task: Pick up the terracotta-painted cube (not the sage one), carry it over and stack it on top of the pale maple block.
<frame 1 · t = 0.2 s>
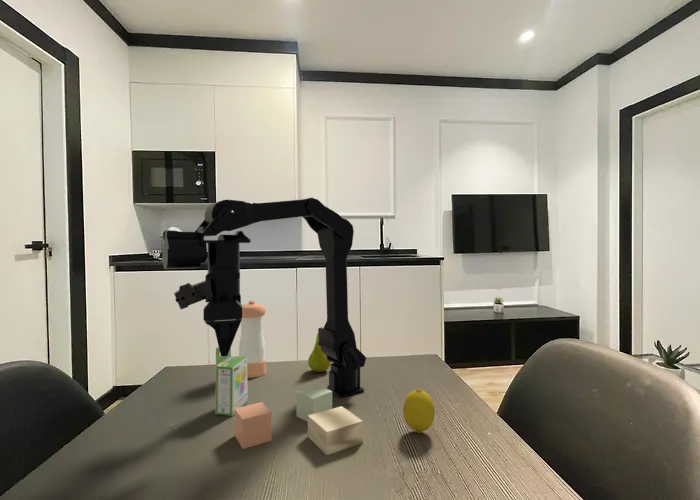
hand: (224, 349, 71), 14 cm above the table, fingers open, 9 cm apart
maple base: (334, 441, 65), on the table
pepper shaker: (252, 373, 99), on the table
terracotta cube: (252, 438, 66), on the table
lemon: (418, 434, 67), on the table
ink box: (232, 409, 78), on the table
sage cube: (314, 416, 74), on the table
fruit: (319, 371, 101), on the table
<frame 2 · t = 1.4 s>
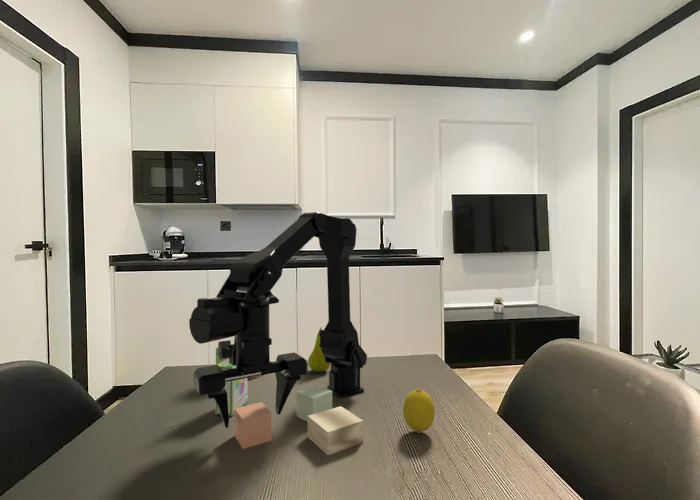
hand: (253, 420, 66), 3 cm above the table, fingers open, 9 cm apart
nothing on the table moved.
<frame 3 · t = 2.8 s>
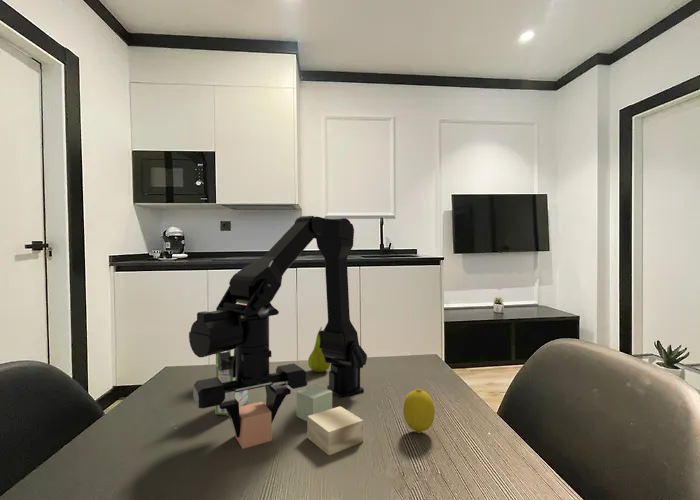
hand: (252, 432, 66), 1 cm above the table, fingers closed on terracotta cube, 5 cm apart
terracotta cube: (252, 438, 66), on the table, touching gripper
everything else where it was.
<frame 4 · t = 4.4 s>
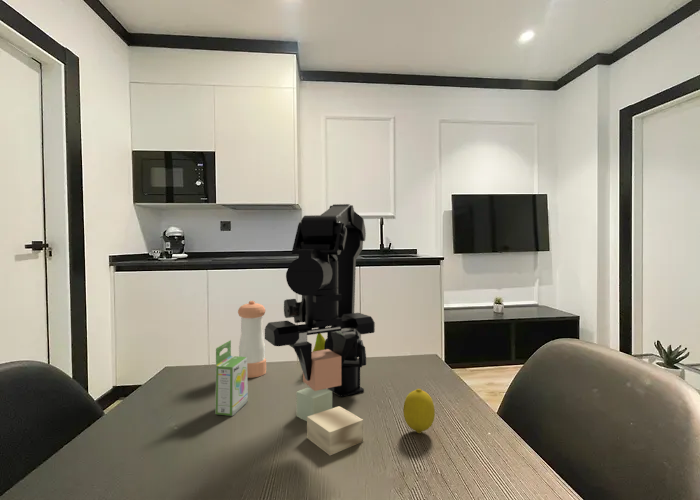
hand: (321, 377, 65), 11 cm above the table, fingers closed on terracotta cube, 5 cm apart
terracotta cube: (321, 383, 65), point 10 cm above the table, touching gripper
everything else where it was.
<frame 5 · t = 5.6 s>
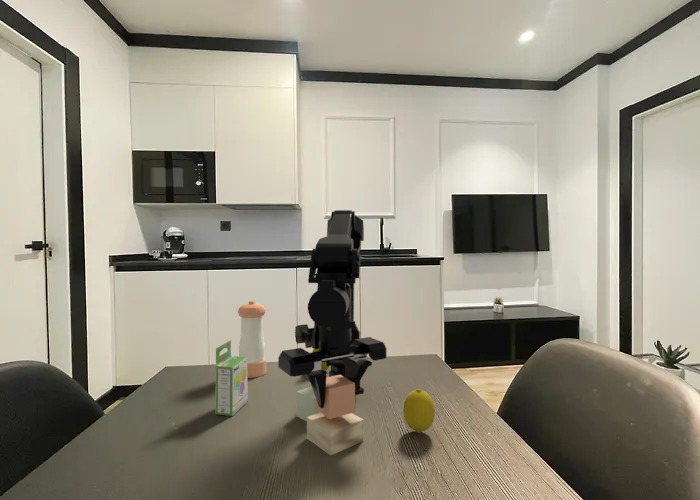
hand: (334, 403, 65), 6 cm above the table, fingers closed on terracotta cube, 5 cm apart
terracotta cube: (335, 410, 65), point 5 cm above the table, touching gripper
everything else where it was.
when the fingers open (6 cm above the table, at t = 6.2 s): terracotta cube drops 1 cm, point 4 cm above the table.
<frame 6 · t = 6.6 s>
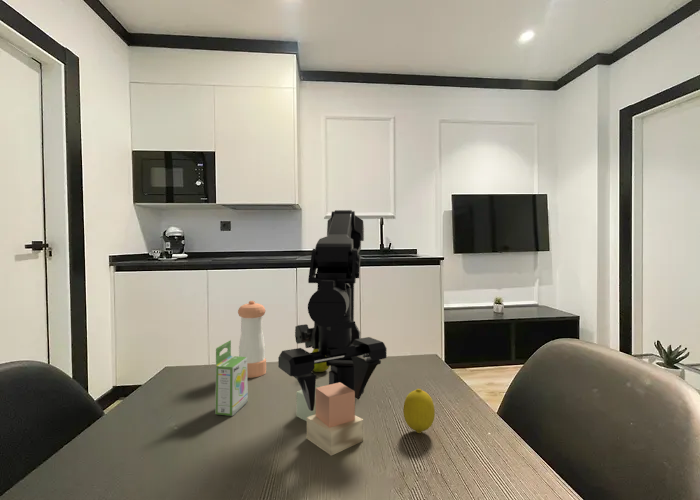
hand: (334, 403, 65), 6 cm above the table, fingers open, 9 cm apart
terracotta cube: (335, 418, 65), point 4 cm above the table
everything else where it was.
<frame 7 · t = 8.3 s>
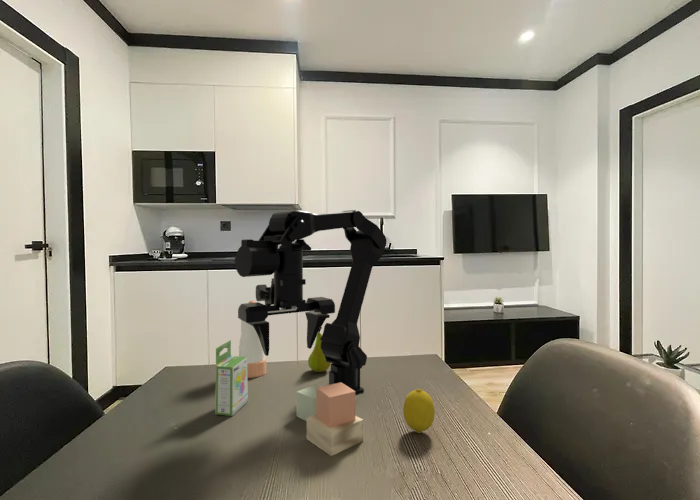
hand: (288, 351, 75), 12 cm above the table, fingers open, 9 cm apart
maple base: (334, 441, 65), on the table, touching terracotta cube
terracotta cube: (335, 417, 65), point 4 cm above the table, touching maple base
everything else where it was.
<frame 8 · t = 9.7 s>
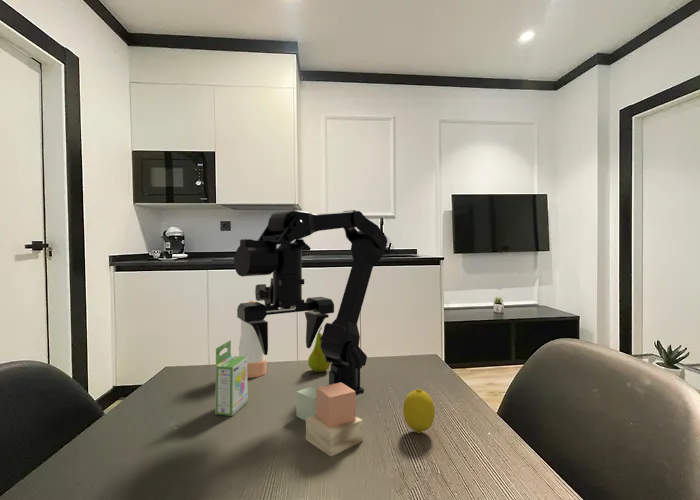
hand: (287, 351, 75), 13 cm above the table, fingers open, 9 cm apart
maple base: (334, 442, 65), on the table
terracotta cube: (335, 418, 65), point 4 cm above the table
everything else where it was.
at the end: terracotta cube 0.4 cm off-centre on the maple base, point 4.0 cm above the maple base's base; terracotta cube tilted 0°; the gripper is holding nothing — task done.
